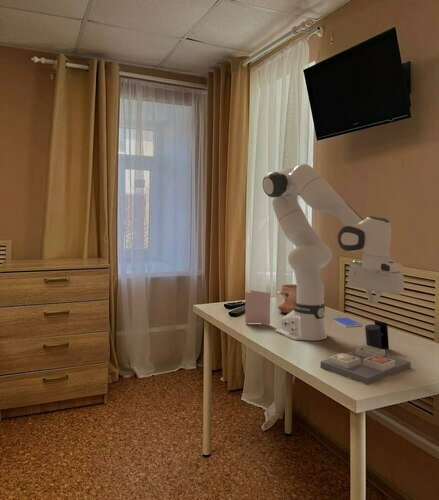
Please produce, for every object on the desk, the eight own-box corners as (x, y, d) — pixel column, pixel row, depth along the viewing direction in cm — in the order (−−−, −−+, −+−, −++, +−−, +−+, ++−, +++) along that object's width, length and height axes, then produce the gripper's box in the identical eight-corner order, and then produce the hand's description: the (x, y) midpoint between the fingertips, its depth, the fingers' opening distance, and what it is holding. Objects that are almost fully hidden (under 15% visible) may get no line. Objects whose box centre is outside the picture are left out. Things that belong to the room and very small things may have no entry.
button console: (320, 367, 141) (320, 355, 141) (363, 353, 156) (364, 342, 155) (367, 384, 127) (367, 371, 127) (410, 367, 141) (410, 355, 141)
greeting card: (271, 324, 196) (271, 292, 195) (261, 328, 191) (261, 295, 189) (251, 320, 204) (252, 289, 203) (241, 323, 199) (241, 292, 197)
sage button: (359, 353, 148) (359, 348, 148) (368, 351, 151) (368, 345, 151) (372, 357, 144) (372, 351, 144) (380, 354, 147) (380, 349, 147)
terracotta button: (367, 364, 138) (367, 358, 137) (376, 361, 141) (376, 355, 140) (381, 368, 134) (381, 362, 133) (390, 365, 137) (390, 359, 136)
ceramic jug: (279, 316, 212) (280, 288, 211) (273, 309, 227) (273, 283, 225) (314, 316, 214) (315, 288, 213) (305, 309, 229) (306, 283, 227)
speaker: (380, 343, 166) (379, 318, 165) (389, 349, 161) (388, 323, 159) (362, 347, 165) (361, 321, 163) (371, 352, 159) (370, 326, 157)
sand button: (333, 361, 140) (334, 356, 140) (343, 358, 143) (343, 353, 143) (346, 366, 136) (346, 360, 136) (356, 363, 139) (356, 357, 139)
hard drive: (362, 323, 194) (348, 317, 206) (345, 324, 192) (332, 318, 204) (361, 327, 194) (348, 320, 206) (345, 328, 192) (332, 321, 205)
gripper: (344, 260, 153) (342, 297, 154) (397, 267, 137) (394, 309, 138) (355, 259, 157) (353, 296, 158) (407, 266, 140) (404, 307, 142)
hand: (372, 302), depth 148 cm, fingers closed
